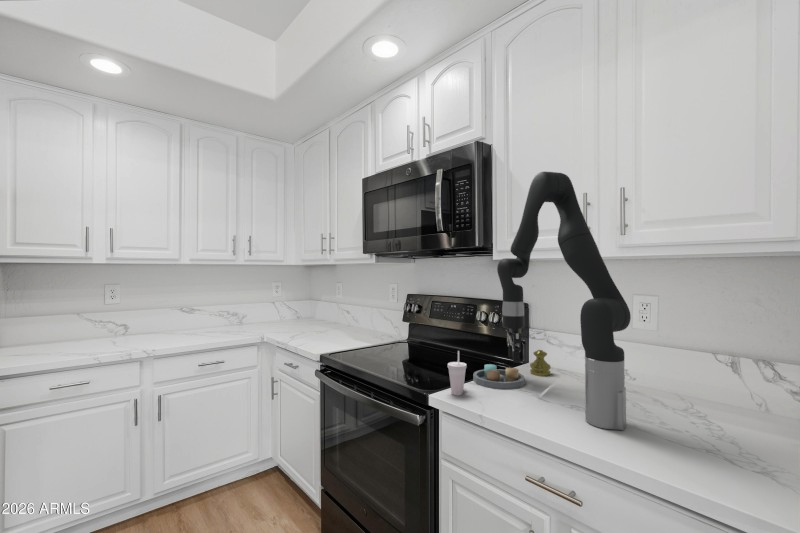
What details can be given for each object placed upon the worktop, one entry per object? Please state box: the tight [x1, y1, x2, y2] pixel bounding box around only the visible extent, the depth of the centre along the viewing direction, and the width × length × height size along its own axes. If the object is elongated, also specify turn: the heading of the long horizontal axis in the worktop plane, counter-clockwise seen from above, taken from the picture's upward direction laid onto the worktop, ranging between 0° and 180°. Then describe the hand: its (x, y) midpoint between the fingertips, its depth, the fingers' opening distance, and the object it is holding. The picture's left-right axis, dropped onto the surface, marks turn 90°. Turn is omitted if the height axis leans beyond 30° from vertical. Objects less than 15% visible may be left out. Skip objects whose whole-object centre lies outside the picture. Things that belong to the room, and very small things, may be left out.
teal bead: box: [483, 363, 498, 379], centre depth 139 cm, size 4×4×4 cm
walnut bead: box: [487, 370, 500, 382], centre depth 130 cm, size 4×4×4 cm
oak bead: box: [505, 367, 520, 382], centre depth 133 cm, size 4×4×4 cm
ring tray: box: [472, 368, 526, 390], centre depth 134 cm, size 18×18×3 cm
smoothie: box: [447, 350, 468, 396], centre depth 124 cm, size 6×6×14 cm
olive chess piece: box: [529, 349, 552, 377], centre depth 144 cm, size 7×7×10 cm
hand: (514, 359), depth 133 cm, fingers open, 8 cm apart
